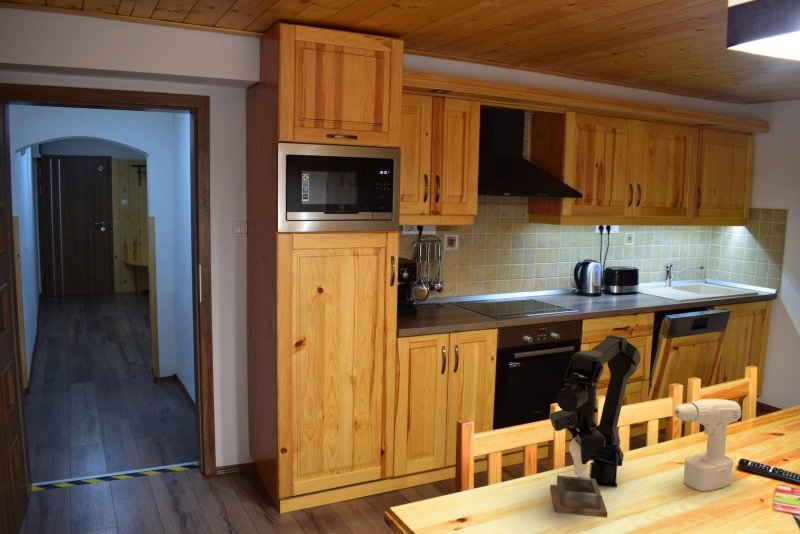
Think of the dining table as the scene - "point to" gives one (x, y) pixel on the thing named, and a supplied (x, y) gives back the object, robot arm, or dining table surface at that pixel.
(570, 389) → the robot arm
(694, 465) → the power drill
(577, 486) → the lamp socket
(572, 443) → the lightbulb
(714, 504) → the dining table surface
